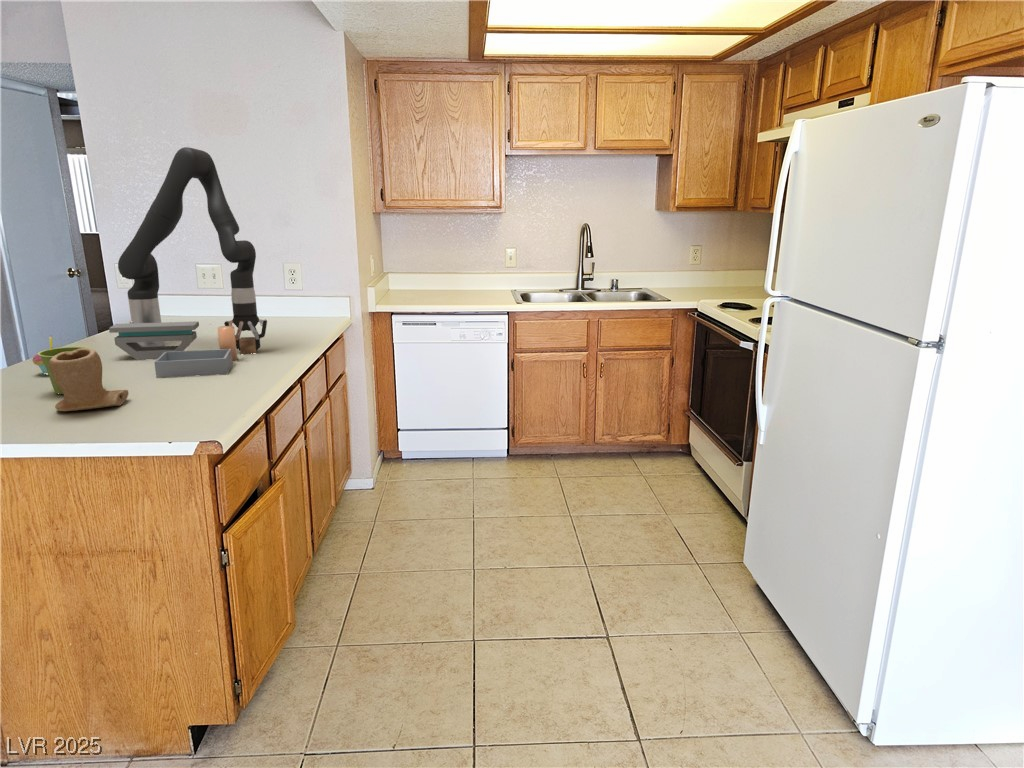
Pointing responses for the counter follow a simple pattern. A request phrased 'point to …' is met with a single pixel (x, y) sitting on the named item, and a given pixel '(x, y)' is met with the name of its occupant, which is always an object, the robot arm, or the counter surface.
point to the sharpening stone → (153, 337)
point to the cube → (247, 345)
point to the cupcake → (38, 360)
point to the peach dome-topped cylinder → (228, 340)
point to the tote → (193, 363)
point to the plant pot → (46, 357)
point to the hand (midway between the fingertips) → (248, 349)
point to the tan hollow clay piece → (82, 381)
